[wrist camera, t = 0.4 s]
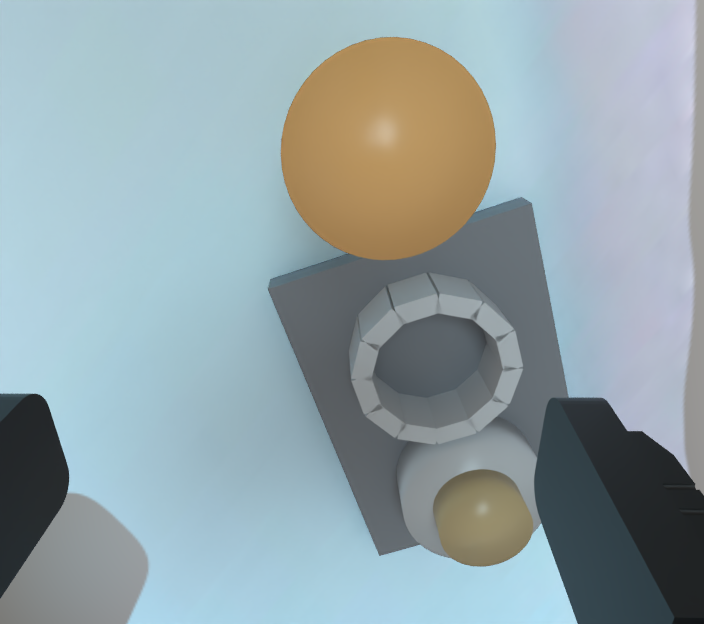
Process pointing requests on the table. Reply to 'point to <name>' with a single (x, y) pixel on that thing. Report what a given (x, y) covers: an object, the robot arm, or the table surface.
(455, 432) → the housing
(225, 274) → the table surface
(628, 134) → the table surface
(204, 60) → the table surface
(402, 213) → the cylinder
